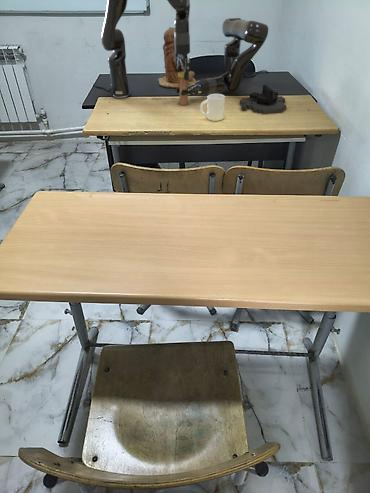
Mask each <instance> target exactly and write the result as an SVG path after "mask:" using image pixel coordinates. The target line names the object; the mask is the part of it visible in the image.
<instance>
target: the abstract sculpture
mask: <svg viewBox="0 0 370 493" xmlns="http://www.w3.org/2000/svg"><path fill="white" fill-rule="evenodd" d="M285 103H286V98H285V97H284V96H282V95H280V96H279V92H278V91H274V90H273V89H272V88H271V87H270V86H268V85H267V84H263V85H262V92H261V93H259V92H251V93H249V96H248V97H244V98H243V97H242V98H241V99H239V104H240V105H241V106H240V108H241V110H242V111H243V112H244V111H247V109H248V110H252V111H253V112H254V113H259V114H263V115H264V114H265V115H266V114H276V113H283V111H285V110H287V105H286V104H285Z"/></svg>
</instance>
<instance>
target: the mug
mask: <svg viewBox="0 0 370 493" xmlns="http://www.w3.org/2000/svg"><path fill="white" fill-rule="evenodd" d="M206 98H207V99H204V100H203V101H202V102H201V103H200V104H199V111H200V113H201V115H203V116H206V118H207V119H208V120H209V121H213V122H218V121H222V120H223V119H224V118H225V103H226V102H225V101H226V96H225V94H222V93H209V94H207V96H206ZM204 105H206V106H207V107H206V112H205V111H204V108H203V107H204Z"/></svg>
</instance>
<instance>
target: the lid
mask: <svg viewBox="0 0 370 493" xmlns="http://www.w3.org/2000/svg"><path fill="white" fill-rule="evenodd" d="M178 77H181V78H184V71H182V72H178Z"/></svg>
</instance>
